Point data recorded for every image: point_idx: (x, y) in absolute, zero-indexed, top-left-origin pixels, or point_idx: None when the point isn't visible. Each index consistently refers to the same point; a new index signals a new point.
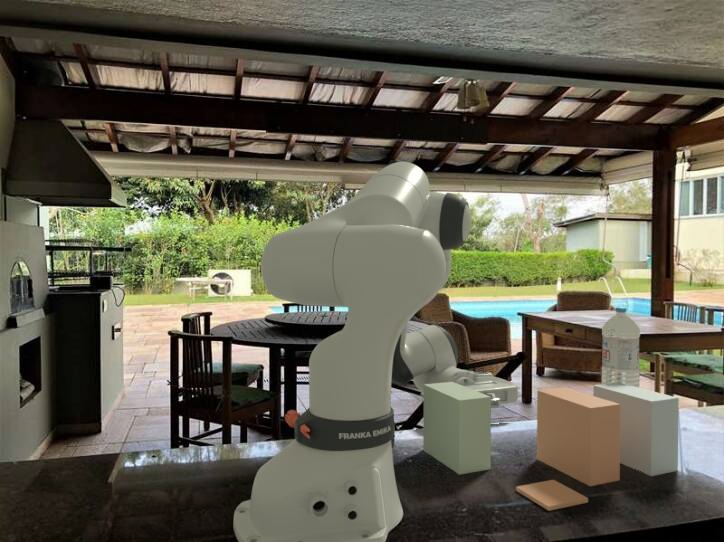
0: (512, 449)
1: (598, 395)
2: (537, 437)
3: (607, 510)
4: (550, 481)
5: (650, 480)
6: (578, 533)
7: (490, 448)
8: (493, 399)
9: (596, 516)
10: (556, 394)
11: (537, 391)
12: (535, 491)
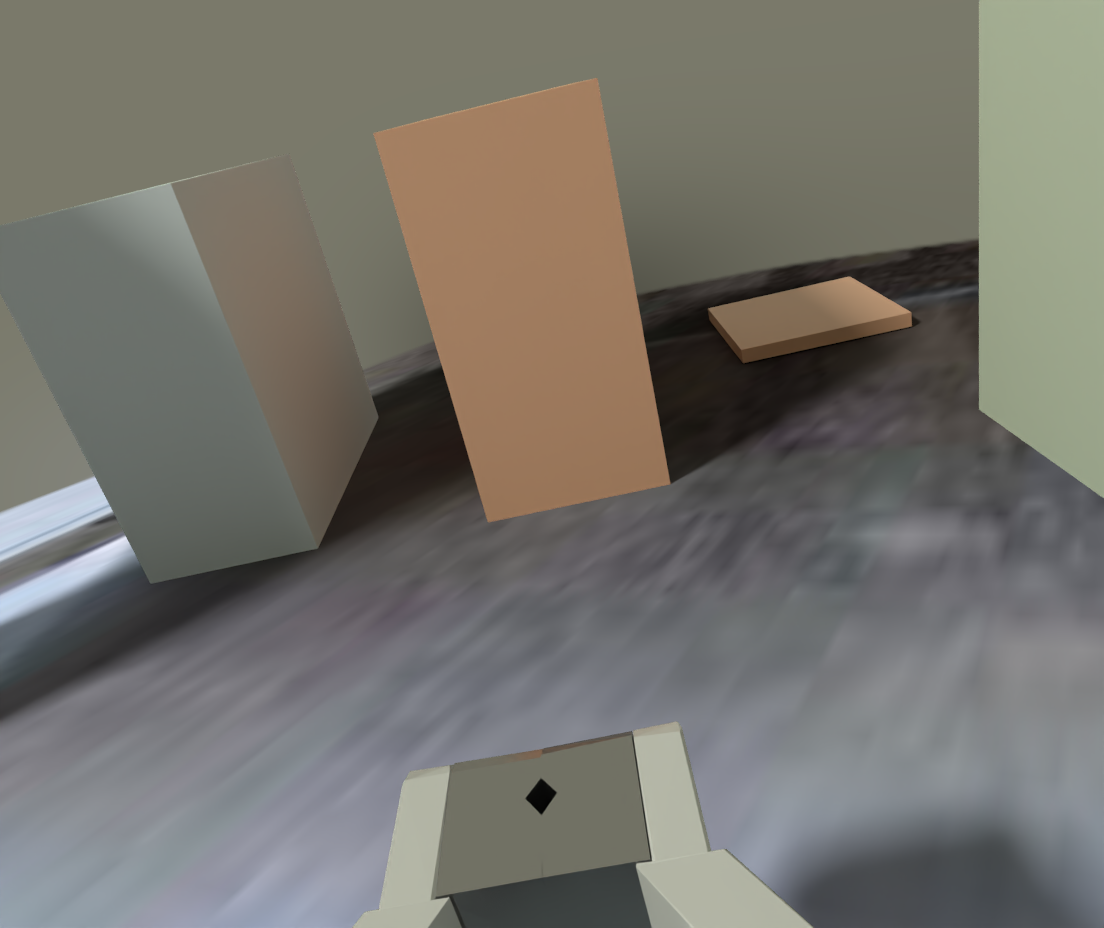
0: (737, 574)
1: (208, 233)
2: (649, 371)
3: (686, 309)
4: (761, 341)
5: (413, 401)
6: (823, 261)
7: (980, 304)
8: (542, 753)
9: (734, 294)
10: (553, 88)
11: (598, 85)
12: (852, 305)
